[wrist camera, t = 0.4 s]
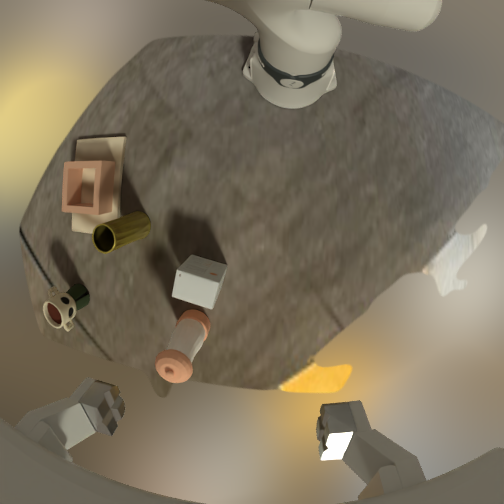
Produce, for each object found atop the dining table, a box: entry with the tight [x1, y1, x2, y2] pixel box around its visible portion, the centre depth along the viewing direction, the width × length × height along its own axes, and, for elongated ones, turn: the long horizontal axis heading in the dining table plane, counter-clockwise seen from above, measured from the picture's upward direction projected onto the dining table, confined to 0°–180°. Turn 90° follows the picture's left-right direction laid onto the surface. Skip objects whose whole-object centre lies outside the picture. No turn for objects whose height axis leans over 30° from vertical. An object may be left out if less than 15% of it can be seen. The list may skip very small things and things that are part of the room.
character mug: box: [43, 284, 90, 331], centre depth 54 cm, size 11×7×13 cm, turn 19°
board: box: [72, 137, 126, 234], centre depth 52 cm, size 22×14×1 cm, turn 173°
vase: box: [92, 211, 151, 254], centre depth 48 cm, size 6×6×14 cm
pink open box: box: [62, 161, 116, 215], centre depth 49 cm, size 11×11×6 cm
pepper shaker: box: [155, 309, 210, 383], centre depth 50 cm, size 7×7×19 cm
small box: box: [172, 254, 227, 309], centre depth 51 cm, size 8×6×10 cm
